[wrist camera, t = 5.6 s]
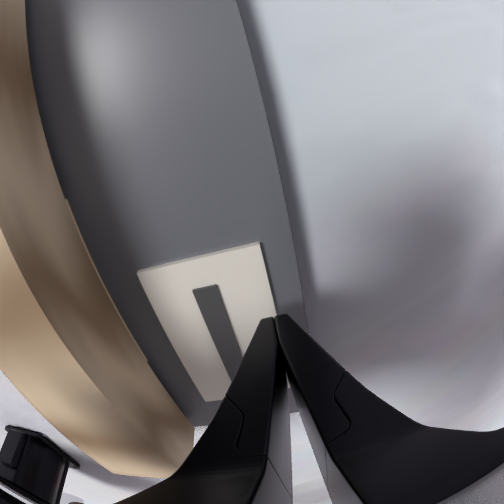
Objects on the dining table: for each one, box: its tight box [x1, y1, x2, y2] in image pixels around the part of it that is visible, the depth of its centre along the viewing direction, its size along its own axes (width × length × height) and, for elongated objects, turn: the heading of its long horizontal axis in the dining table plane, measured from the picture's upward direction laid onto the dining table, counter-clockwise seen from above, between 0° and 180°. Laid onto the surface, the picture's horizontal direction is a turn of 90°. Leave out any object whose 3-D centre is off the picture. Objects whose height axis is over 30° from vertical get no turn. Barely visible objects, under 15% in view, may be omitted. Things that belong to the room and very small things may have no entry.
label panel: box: [25, 0, 309, 427], centre depth 9 cm, size 23×17×1 cm
